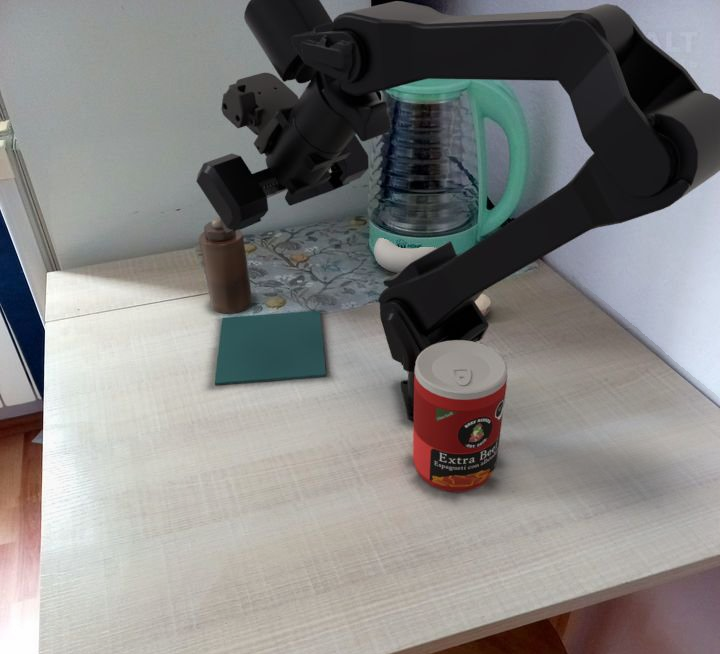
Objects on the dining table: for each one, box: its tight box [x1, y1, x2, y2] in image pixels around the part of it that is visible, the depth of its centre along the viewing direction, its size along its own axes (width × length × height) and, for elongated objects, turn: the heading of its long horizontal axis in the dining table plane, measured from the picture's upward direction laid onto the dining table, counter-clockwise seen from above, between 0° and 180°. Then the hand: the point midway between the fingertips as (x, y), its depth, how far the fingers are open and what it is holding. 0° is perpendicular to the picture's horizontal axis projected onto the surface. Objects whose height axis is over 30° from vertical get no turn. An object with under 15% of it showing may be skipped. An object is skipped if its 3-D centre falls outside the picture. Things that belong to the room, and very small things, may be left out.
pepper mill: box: [198, 216, 254, 315], centre depth 86 cm, size 5×5×11 cm
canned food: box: [412, 340, 508, 493], centre depth 62 cm, size 8×8×11 cm
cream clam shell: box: [475, 293, 491, 317], centre depth 85 cm, size 4×5×2 cm
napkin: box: [214, 310, 327, 386], centre depth 82 cm, size 14×12×1 cm
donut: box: [373, 237, 437, 274], centre depth 96 cm, size 10×4×10 cm
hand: (257, 214), depth 77 cm, fingers open, 9 cm apart
